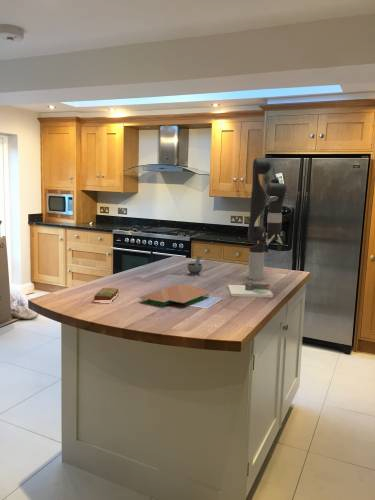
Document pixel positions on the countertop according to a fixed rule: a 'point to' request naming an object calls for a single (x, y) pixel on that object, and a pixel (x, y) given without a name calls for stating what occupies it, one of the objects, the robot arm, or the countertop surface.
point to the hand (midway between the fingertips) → (272, 251)
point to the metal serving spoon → (256, 286)
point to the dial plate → (248, 292)
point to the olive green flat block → (106, 294)
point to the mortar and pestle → (195, 267)
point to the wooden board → (177, 294)
